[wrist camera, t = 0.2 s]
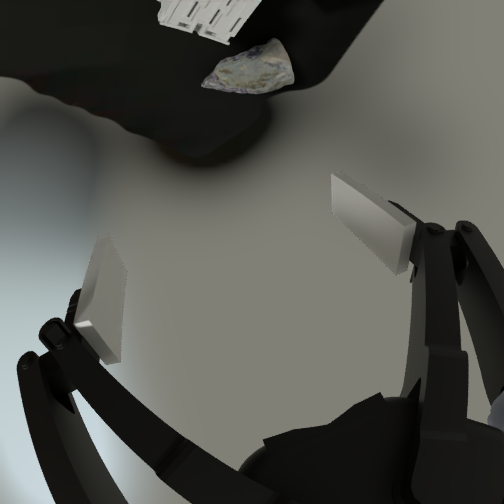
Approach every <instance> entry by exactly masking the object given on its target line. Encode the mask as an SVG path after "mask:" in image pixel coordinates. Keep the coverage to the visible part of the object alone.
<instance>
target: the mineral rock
mask: <svg viewBox="0 0 504 504" xmlns="http://www.w3.org/2000/svg"><path fill="white" fill-rule="evenodd" d="M293 83H294V74H293V71H292V66H291V62H290V59H289V57H288V54H287V52H286V50H285V49H284V47H283V45H282V44H281V43H280V41H279V40H278V39H276V38H272V39H269V41H268V42H267V44H264V45H259V46H254V47H253V48H251V49H250V50H249V51H245V52H242V53H240V54H239V55H236V56H234V57H228V58H225V59H224V60H221V61H220V62H219V64H218V65H217V66H216V68H215V70H214V71H213V72H212V73H210V75H208V76H207V77H206V78H205V80H204V81H203V83H202V87H204V88H213V89H216V90H222V91H225V92H232V91H234V92H237V93H254V94H260V93H267V92H271V91H274V90H277V89H279V88H281V87H283V86H284V85H290V84H293Z"/></svg>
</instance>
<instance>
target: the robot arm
mask: <svg viewBox="0 0 504 504" xmlns="http://www.w3.org/2000/svg"><path fill="white" fill-rule="evenodd" d="M331 182H332V214H333V215H334V216H336V217H337V218H338V219H339V220H340V221H341V222H342V223H343V224H344V225H345V226H346V227H347V228H348V229H349V230H351V231H352V232H353V233H354V234H355V235H356V236H357V237H358V238H359V239H360V240H361V241H362V242H363V243H364V244H365V245H366V246H367V247H368V248H369V249H370V250H371V251H372V252H373V253H375V255H376V256H377V257H378V258H379V259H380V260H381V261H382V262H383V263H384V264H385V265H386V266H387V267H388V268H389V269H390V270H391V271H392V272H393V273H394V274H395V275H397V274H400V273H402V272H404V271H407V268H408V264H409V260H410V261H411V262H412V263H413V264H414V267H413V271H412V275H411V279H410V283H412V308H411V309H412V310H411V324H410V325H411V326H410V336H409V337H410V338H409V347H408V356H407V365H406V371H405V378H404V384H403V388H402V391H401V394H400V397H387V398H383V396H382V395H381V393H380V392H379V393H377V394H375V395H374V396H372V397H369V398H368V399H365V400H363V401H361V402H359V403H357V404H355V405H353V406H352V407H351V408H349V409H348V410H347V411H346V412H344V413H343V414H342V415H340V416H339V417H338V418H336V419H335V420H334V421H332V422H331V423H329V424H327V425H322V426H316V427H309V428H301V429H293V430H290V431H288V432H285V433H282V434H279V435H276V436H272V437H269V438H266V439H263V442H264V445H265V446H263V447H262V448H260V449H258V450H257V451H255V452H254V453H253V454H252V455H251V456H249V457H248V458H247V459H246V460H245V462H244V463H243V464H242V465H241V467H240V469H239V471H236V470H234V469H233V468H231V467H229V466H228V465H226V464H225V463H223V462H221V461H220V460H218V459H217V458H215V457H214V456H212V455H211V454H209V453H208V452H206V451H204V450H203V449H202V448H200V447H199V446H197V445H196V444H194V443H193V442H191V441H190V440H188V439H187V438H185V437H183V436H182V435H181V434H179V433H178V432H177V431H175V430H174V429H173V428H171V427H170V426H169V425H168V424H166V423H165V422H164V421H162V420H161V419H160V418H159V417H157V416H156V415H155V414H154V413H153V412H152V411H150V410H149V409H148V408H147V407H145V406H144V405H143V404H142V403H141V402H140V401H139V400H137V399H136V398H135V397H134V396H133V395H132V394H131V393H130V392H129V391H128V390H126V389H125V388H124V387H123V386H122V385H121V384H120V383H119V382H118V381H117V380H116V379H115V378H114V377H113V376H112V375H111V374H110V373H109V372H108V371H107V370H106V369H105V368H104V367H103V366H102V365H101V364H100V363H99V360H100V359H101V360H102V361H103V362H104V363H105V364H106V365H109V364H113V363H118V362H121V339H122V322H123V307H124V296H125V286H126V276H127V270H126V268H125V266H124V264H123V262H122V260H121V258H120V256H119V254H118V252H117V249H116V247H115V245H114V243H113V240H112V238H111V236H110V234H109V233H108V234H105V235H102V236H99V237H97V240H96V243H95V246H94V249H93V252H92V255H91V258H90V261H89V265H88V268H87V272H86V275H85V279H84V282H83V286H82V288H81V289H78V290H76V291H75V292H74V294H73V295H72V297H71V299H70V302H69V307H68V309H67V314H66V317H65V321H64V322H63V320H62V319H60V318H52V319H50V320H49V321H47V322H46V323H45V324H44V325H43V326H42V328H41V329H40V331H39V340H40V341H41V342H42V343H43V344H44V345H45V347H46V348H47V349H48V350H49V351H48V352H47V353H45V354H43V355H41V356H40V357H39V356H38V355H37V354H36V353H35V352H33V351H28V352H26V353H25V354H24V355H22V356H21V358H20V359H19V361H18V364H17V375H18V381H19V387H20V393H21V398H22V403H23V407H24V412H25V416H26V420H27V424H28V428H29V432H30V435H31V439H32V442H33V446H34V449H35V452H36V455H37V458H38V461H39V464H40V467H41V469H42V472H43V475H44V477H45V480H46V482H47V485H48V487H49V490H50V492H51V494H52V497H53V499H54V501H55V503H56V504H128V502H127V501H126V499H125V498H124V496H123V494H122V493H121V491H120V490H119V488H118V487H117V485H116V483H115V482H114V480H113V478H112V477H111V475H110V473H109V471H108V470H107V468H106V466H105V464H104V462H103V460H102V459H101V457H100V455H99V453H98V451H97V449H96V447H95V445H94V443H93V441H92V439H91V437H90V435H89V433H88V431H87V428H86V426H85V424H84V422H83V420H82V417H81V415H80V412H79V410H78V408H77V405H76V403H75V400H74V398H73V395H72V392H73V391H74V390H76V389H77V390H78V391H79V392H80V393H81V395H82V396H83V397H84V398H85V400H86V401H87V402H88V403H89V404H90V406H91V407H92V408H93V409H94V410H95V412H96V413H97V414H98V415H99V416H100V417H101V418H102V419H103V421H104V422H105V423H106V424H107V425H108V426H109V427H110V428H111V429H112V430H113V431H114V432H115V434H116V435H117V436H119V438H120V439H121V440H122V441H123V442H124V443H125V444H126V445H127V446H128V447H129V448H130V449H132V450H133V451H134V452H135V453H136V454H137V455H138V456H139V457H140V458H141V459H142V460H143V461H144V462H145V463H147V464H148V465H149V466H150V467H151V468H152V469H153V470H154V471H155V473H156V475H157V476H158V477H159V478H160V479H161V480H162V481H163V482H164V483H166V484H167V485H168V486H169V487H171V488H172V489H173V490H174V491H176V492H177V493H178V494H179V495H181V496H182V497H183V498H185V499H186V500H187V501H189V502H190V503H192V504H504V269H503V267H502V265H501V264H500V262H499V260H498V259H497V257H496V255H495V254H494V252H493V250H492V249H491V247H490V246H489V244H488V243H487V241H486V240H485V238H484V237H483V235H482V234H481V232H480V231H479V229H478V228H477V227H476V226H475V225H474V224H472V223H471V222H468V221H458V222H457V223H456V227H455V230H445V229H444V227H442V226H441V225H439V224H436V223H424V222H422V221H421V220H420V219H418V218H417V217H415V216H414V215H412V214H411V213H409V212H408V211H407V210H406V209H404V208H403V207H401V206H400V205H399V204H397V203H394V202H392V201H387V200H385V199H384V198H382V197H381V196H379V195H378V194H377V193H375V192H374V191H372V190H371V189H369V188H368V187H366V186H365V185H363V184H362V183H360V182H358V181H357V180H356V179H354V178H352V177H351V176H349V175H347V174H346V173H344V172H343V171H339V172H334V173H331ZM458 301H459V303H460V306H461V309H462V311H463V314H464V317H465V320H466V323H467V326H468V329H469V332H470V335H471V338H472V341H473V345H474V348H475V352H476V355H477V359H478V363H479V367H480V370H481V375H482V379H483V383H484V387H485V390H486V394H487V397H488V399H489V402H490V405H491V414H490V415H489V416H488V424H489V425H487V424H484V423H480V422H477V421H474V420H471V419H468V418H467V406H468V354H467V352H466V351H462V350H461V336H460V320H459V308H458Z"/></svg>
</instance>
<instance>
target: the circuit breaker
mask: <svg viewBox="0 0 504 504" xmlns="http://www.w3.org/2000/svg"><path fill="white" fill-rule="evenodd" d="M157 1H161V9H160V11H159V13H158V21H161V22H160V24H161V25H165V26H169V27H173V28H177V29H180V30H184V31H187V32H191V33H192V32H193V30H195V31H197V33H198V34H199V35H200V36H204V37H207V38H210V39H213V40H216V41H218V42H221V43H224V44H227V45H229V44H230V43H229V42H227V41H228V39H229V38H230V36H232V37H235V35H236V34H237V32H238V31H239V30H240V28H241V27H242V25H243V24H244V23H245V21H246V20H247V19H248V17H249V16H250V15H251V13H252V12H253V11H254V10H255V8H256V7H257V6H258V4H259V3H260V2H261V1H262V0H157Z"/></svg>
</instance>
